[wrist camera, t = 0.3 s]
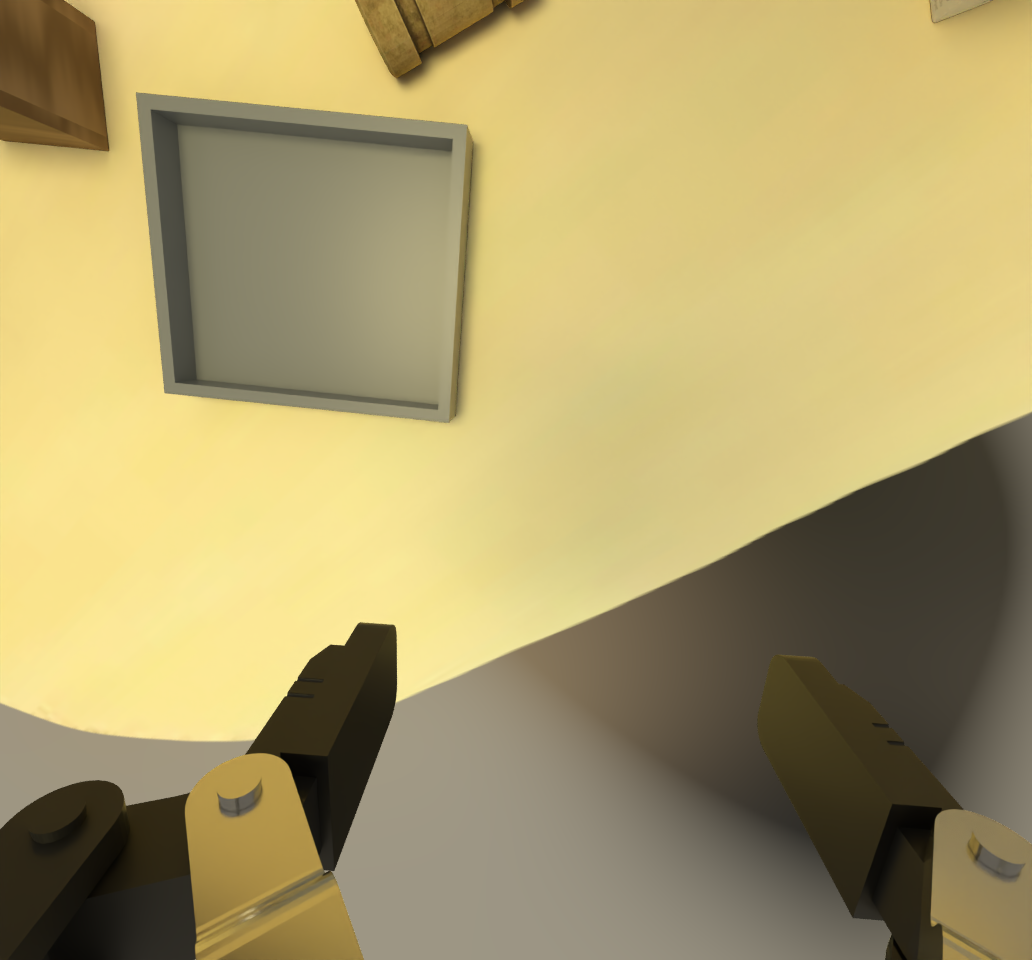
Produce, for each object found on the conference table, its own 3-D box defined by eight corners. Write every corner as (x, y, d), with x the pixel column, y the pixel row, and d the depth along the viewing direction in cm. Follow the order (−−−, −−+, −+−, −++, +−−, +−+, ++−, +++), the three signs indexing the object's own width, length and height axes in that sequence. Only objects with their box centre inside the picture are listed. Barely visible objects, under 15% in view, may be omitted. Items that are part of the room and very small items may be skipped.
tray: (169, 112, 34) (135, 92, 31) (473, 142, 34) (467, 124, 31) (192, 388, 39) (164, 393, 36) (455, 415, 39) (448, 422, 36)
